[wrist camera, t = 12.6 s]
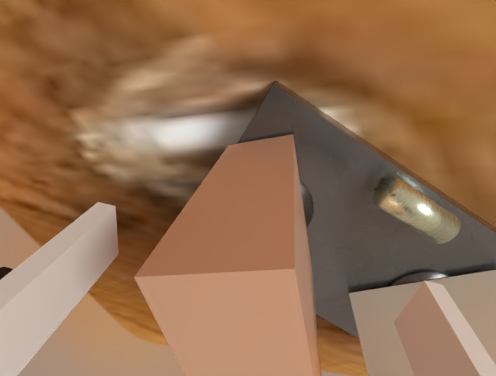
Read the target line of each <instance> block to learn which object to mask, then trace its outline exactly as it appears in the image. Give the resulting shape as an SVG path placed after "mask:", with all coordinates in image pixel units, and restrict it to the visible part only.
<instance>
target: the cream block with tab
mask: <svg viewBox="0 0 496 376" xmlns="http://www.w3.org/2000/svg"><path fill="white" fill-rule="evenodd" d="M428 281H429V282H434V283H438V284H442V285H443V286H444V287H445V289H446V290H447V292H448V293H449V295H450V296H451V298H452V299H453V301H454V302H455V304H456V305H457V307H458V309H459V310H460V312H461V313H462V315H463V316H464V318H465V319H466V321H467V322H468V324H469V325H470V327H471V328H472V330H473V331H474V333H475V334H476V336H477V338H478V339H479V341H480V342H481V344H482V345H483V347H484V348H485V350H486V351H487V353H488V354H489V356H490V357H491V359H492V360H493V362H494V363H495V365H496V270H491V271H485V272H478V273H472V274H466V275H460V276H453V277H447V278H441V279H434V280H428ZM422 282H423V281H422ZM422 282H416V283H409V284H403V285H397V286H390V287H384V288H378V289H372V290H365V291H359V292H353V293H349V297H350V301H351V305H352V309H353V313H354V318H355V322H356V326H357V330H358V334H359V339H360V343H361V347H362V351H363V356H364V360H365V364H366V368H367V372H368V376H414V373H413V371H412V368H411V366H410V363H409V360H408V358H407V355H406V353H405V350H404V347H403V345H402V342H401V340H400V337H399V334H398V332H397V329H396V327H395V324H394V321H395V320H396V318H397V317H398V315H399V314H400V313H401V311H402V310H403V309H404V307H405V306H406V304H407V303H408V302H409V300H410V299H411V298H412V296H413V295H414V293H415V292H416V291H417V289H418V288H419V287H420V285H421V284H422Z"/></svg>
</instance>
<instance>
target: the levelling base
mask: <svg viewBox="0 0 496 376" xmlns="http://www.w3.org/2000/svg"><path fill="white" fill-rule="evenodd" d="M292 134H293V136H294V143H295V150H296V157H297V164H298V172H299V179H300V186H301V193H302V200H303V207H304V215H305V222H306V229H307V236H308V243H309V250H310V257H311V265H312V275H313V286H314V297H315V308H316V315H318V316H320V317H321V318H323V319H325V320H327V321H328V322H330V323H332V324H334V325H336V326H337V327H339V328H341V329H343V330H344V331H346V332H348V333H350V334H352V335H353V336H355V337H357V338H359V334H358V330H357V326H356V322H355V318H354V313H353V309H352V305H351V301H350V297H349V293H353V292H359V291H365V290H372V289H378V288H384V287H390V286H397V285H403V284H409V283H416V282H422V281H424V280H425V281H428V280H434V279H441V278H447V277H453V276H460V275H466V274H472V273H478V272H485V271H491V270H496V228H495V227H493V226H492V225H490V224H489V223H487V222H486V221H484V220H483V219H481V218H480V217H478V216H477V215H475V214H474V213H472V212H471V211H469V210H468V209H466V208H465V207H463V206H462V205H460V204H459V203H457V202H456V201H455V200H453V199H452V198H450V197H449V196H447V195H446V194H444V193H443V192H441V191H440V190H438V189H437V188H435V187H434V186H432V185H431V184H429V183H428V182H426V181H425V180H423V179H422V178H420V177H419V176H417V175H416V174H414V173H413V172H411V171H410V170H408V169H407V168H406V167H404V166H403V165H401V164H400V163H398V162H397V161H395V160H394V159H392V158H391V157H389V156H388V155H386V154H385V153H383V152H382V151H380V150H379V149H377V148H376V147H374V146H373V145H371V144H370V143H368V142H367V141H365V140H364V139H362V138H361V137H359V136H358V135H356V134H355V133H354V132H352V131H351V130H349V129H348V128H346V127H345V126H343V125H342V124H340V123H339V122H337V121H336V120H334V119H333V118H331V117H330V116H328V115H327V114H325V113H324V112H322V111H321V110H319V109H318V108H316V107H315V106H313V105H312V104H310V103H309V102H307V101H306V100H304V99H303V98H302V97H300V96H299V95H297V94H296V93H294V92H293V91H291V90H290V89H288V88H287V87H285V86H284V85H282V84H281V83H279V82H278V81H275V83H274V84H273V86H272V88H271V89H270V91H269V93H268V94H267V96H266V97H265V99H264V101H263V102H262V104H261V106H260V107H259V109H258V111H257V112H256V114H255V116H254V117H253V119H252V121H251V122H250V124H249V126H248V127H247V129H246V131H245V132H244V134H243V136H242V137H241V139H240V140H239V142H238V143H244V142H250V141H256V140H262V139H268V138H274V137H280V136H286V135H292Z"/></svg>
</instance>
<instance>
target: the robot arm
mask: <svg viewBox="0 0 496 376" xmlns="http://www.w3.org/2000/svg"><path fill="white" fill-rule="evenodd" d="M118 255H119V251H118V236H117V221H116V206H113V205H109V204H104V203H100V202H98V203H96V204H95V205H94V206H93V207H91V208H90V209H89V210H88V211H86V212H85V213H84V214H82V215H81V216H80V217H79V218H77V219H76V220H75V221H74V222H72V223H71V224H70V225H69V226H67V227H66V228H65V229H64V230H62V231H61V232H60V233H59V234H57V235H56V236H55V237H54V238H52V239H51V240H50V241H49V242H47V243H46V244H45V245H43V246H42V247H41V248H40V249H38V250H37V251H36V252H35V253H33V254H32V255H31V256H30V257H28V258H27V259H26V260H25V261H23V262H22V263H21V264H20V265H19V266H17V267H16V268H15V269H11V268H7V267H2V268H0V376H17V375H18V374H19V373H20V372H21V371H22V369H23V368H24V367H25V366H26V365H27V363H28V362H29V361H30V360H31V359H32V357H33V356H34V355H35V354H36V353H37V352H38V350H39V349H40V348H41V347H42V346H43V344H44V343H45V342H46V341H47V340H48V338H49V337H50V336H51V335H52V333H53V332H54V331H55V330H56V329H57V328H58V326H59V325H60V324H61V323H62V322H63V320H64V319H65V318H66V317H67V315H68V314H69V313H70V312H71V311H72V310H73V308H74V307H75V306H76V305H77V304H78V302H79V301H80V300H81V299H82V298H83V296H84V295H85V294H86V293H87V292H88V290H89V289H90V288H91V287H92V286H93V284H94V283H95V282H96V281H97V280H98V278H99V277H100V276H101V275H102V274H103V273H104V271H105V270H106V269H107V268H108V267H109V265H110V264H111V263H112V262H113V261H114V259H115V258H116V257H117V256H118ZM394 324H395V327H396V329H397V332H398V334H399V337H400V340H401V342H402V345H403V347H404V350H405V353H406V355H407V358H408V360H409V363H410V366H411V368H412V371H413V373H414V376H496V365H495V363H494V362H493V360H492V359H491V357H490V356H489V354H488V353H487V351H486V350H485V348H484V347H483V345H482V344H481V342H480V341H479V339H478V338H477V336H476V334H475V333H474V331H473V330H472V328H471V327H470V325H469V324H468V322H467V321H466V319H465V318H464V316H463V315H462V313H461V312H460V310H459V309H458V307H457V305H456V304H455V302H454V301H453V299H452V298H451V296H450V295H449V293H448V292H447V290H446V289H445V287H444V286H443V285H442V284H438V283H434V282H429V281H425V280H424V281H423V282H422V284H421V285H420V287H419V288H418V289H417V291H416V292H415V293H414V295H413V296H412V298H411V299H410V300H409V302H408V303H407V304H406V306H405V307H404V309H403V310H402V311H401V313H400V314H399V315H398V317H397V318H396V320H395V321H394Z"/></svg>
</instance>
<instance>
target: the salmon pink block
mask: <svg viewBox="0 0 496 376" xmlns="http://www.w3.org/2000/svg"><path fill="white" fill-rule="evenodd" d="M134 278H135V280H136V282H137V284H138V286H139V288H140V290H141V292H142V294H143V296H144V298H145V300H146V301H147V303H148V305H149V307H150V309H151V311H152V313H153V315H154V317H155V319H156V321H157V323H158V325H159V327H160V329H161V331H162V333H163V335H164V337H165V339H166V341H167V343H168V345H169V347H170V348H171V350H172V352H173V354H174V356H175V358H176V360H177V362H178V364H179V366H180V368H181V370H182V372H183V374H184V376H322V375H321V363H320V352H319V341H318V330H317V319H316V308H315V297H314V286H313V275H312V265H311V257H310V250H309V243H308V236H307V229H306V222H305V215H304V207H303V200H302V193H301V186H300V179H299V172H298V164H297V157H296V150H295V143H294V136H293V134H292V135H286V136H280V137H274V138H268V139H262V140H256V141H250V142H244V143H238V144H232V145H228V147H227V148H226V149H225V151H224V152H223V154H222V155H221V156H220V158H219V159H218V161H217V162H216V163H215V165H214V166H213V168H212V169H211V170H210V172H209V173H208V175H207V176H206V177H205V179H204V180H203V182H202V183H201V184H200V186H199V187H198V189H197V190H196V191H195V193H194V194H193V196H192V197H191V198H190V200H189V201H188V203H187V204H186V205H185V207H184V208H183V210H182V211H181V212H180V214H179V215H178V217H177V218H176V219H175V221H174V222H173V224H172V225H171V226H170V228H169V229H168V230H167V232H166V233H165V235H164V236H163V237H162V239H161V240H160V242H159V243H158V244H157V246H156V247H155V249H154V250H153V251H152V253H151V254H150V256H149V257H148V258H147V260H146V261H145V263H144V264H143V265H142V267H141V268H140V270H139V271H138V272H137V274H136V275H135V277H134Z"/></svg>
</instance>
